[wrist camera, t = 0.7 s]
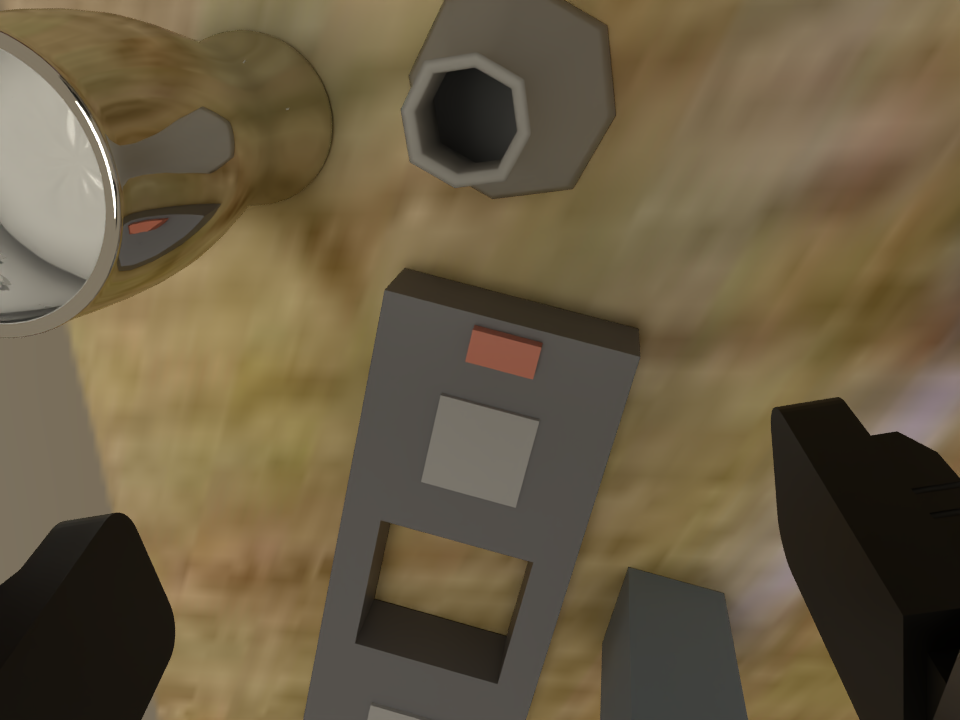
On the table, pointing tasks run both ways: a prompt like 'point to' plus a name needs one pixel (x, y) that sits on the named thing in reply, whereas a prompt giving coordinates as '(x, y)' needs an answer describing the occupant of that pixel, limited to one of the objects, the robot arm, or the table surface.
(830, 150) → the table surface
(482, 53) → the flask
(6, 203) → the beer glass
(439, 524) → the power strip
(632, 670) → the plug
